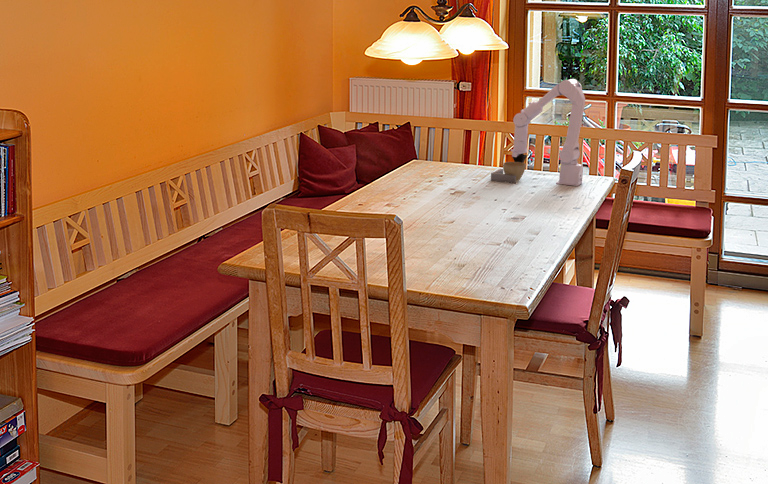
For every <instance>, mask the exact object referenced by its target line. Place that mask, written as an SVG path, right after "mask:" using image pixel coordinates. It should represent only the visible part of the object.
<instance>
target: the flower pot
mask: <svg viewBox="0 0 768 484" xmlns="http://www.w3.org/2000/svg"><path fill="white" fill-rule="evenodd" d="M526 168H527V164H526V163H525V162H524V163H521V162H514V161H506V162H503V163H502V169H503V174H509V175H516V182H518V181H520V180H521V179H522V177H523V176H524V173H525V169H526Z"/></svg>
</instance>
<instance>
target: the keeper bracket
mask: <svg viewBox="0 0 768 484" xmlns="http://www.w3.org/2000/svg"><path fill="white" fill-rule="evenodd" d="M490 182H496V183H504V184H516V183H517V181H516V175H509V174H505V173H504V169H503V168H499V169H497V170H495V171H492V172H491V173H490Z"/></svg>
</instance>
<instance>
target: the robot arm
mask: <svg viewBox="0 0 768 484" xmlns="http://www.w3.org/2000/svg"><path fill="white" fill-rule="evenodd" d="M559 96H564V97H566V98H567V99H568V100H569V102H570V103H571V109H570V115H569V119H568V120H569V122H568V126H567V134H566V137H565V140H564V143H563V146H562V149H561V150H560V152H559V160H560V163H559V164H560V166H559V178H558V179H559V180H558V181H556V182H555V183H556V184H557V185H567V186H575V187H578V186H580V185H581V184H583V173H584V165H583V164H580V163H579V162H578V159H579V158H580V155H581V151H580V143H579V139H580V138H579V137H580V134H581V133H580V131H581V128H582V127H581V126H582V122H583V115H584V111H585V107H586V97H585V94H584V91H583V88H582V84H581V83H580V81H578V79H576V78H570V79H563V80H562V81H561V82H560V83H558V84H556V85H554V86H553V87H552V88H551V89H550V90H549V91H548V92H547V93H545V94H544V95H543V97H541V98H540V99H539V100H537V101H536V100H534V101H530V102H529V103H528V105H527V106H526V107H525V108H523V109H521V110H520V112H518V113H516V114H515V115H514V117H513V119H512V120H513V124H514V135H513V149H512V148H511V149H510V152H511V158H512V160H513V162H521V163H525V161H526V158H527V156H528V155H527V154H526V153H528V148H527V147H528V134H529V133H528V131H529V130H528V129H529V124H530V123H531V121H532V120H534V119H535V118H536V117H537V116H539V115H541V113H542V112H543V111H544V110H543V108H544V107H545V106H546V105H547V104H549V103H550V102H551V101H553V100H554V99H555V98H557V97H559Z"/></svg>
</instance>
